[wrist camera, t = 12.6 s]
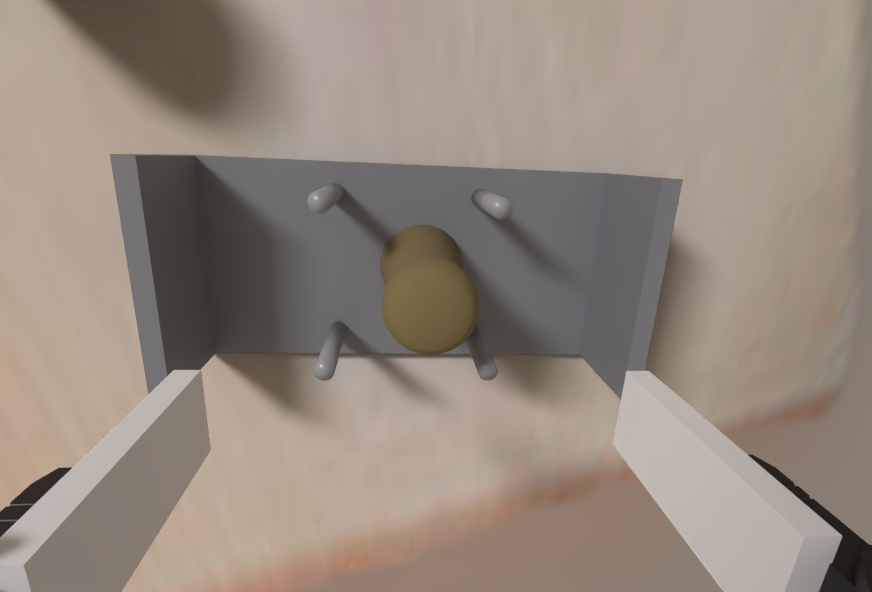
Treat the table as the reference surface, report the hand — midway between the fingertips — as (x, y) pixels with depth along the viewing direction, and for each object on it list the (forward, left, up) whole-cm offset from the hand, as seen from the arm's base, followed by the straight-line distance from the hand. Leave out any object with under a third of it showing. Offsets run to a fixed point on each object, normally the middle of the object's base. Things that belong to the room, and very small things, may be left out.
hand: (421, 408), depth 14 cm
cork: (-1, +1, -20) cm, 20 cm away
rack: (0, 0, -20) cm, 21 cm away
